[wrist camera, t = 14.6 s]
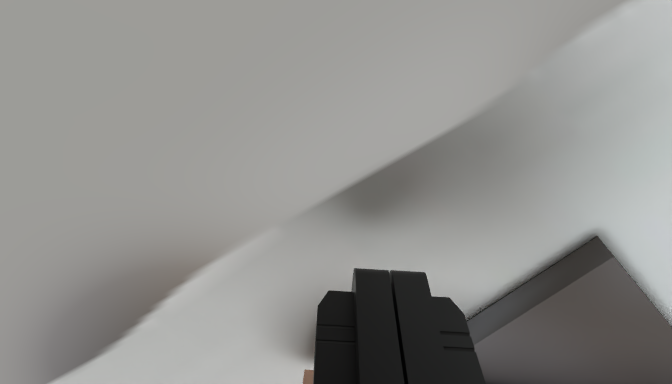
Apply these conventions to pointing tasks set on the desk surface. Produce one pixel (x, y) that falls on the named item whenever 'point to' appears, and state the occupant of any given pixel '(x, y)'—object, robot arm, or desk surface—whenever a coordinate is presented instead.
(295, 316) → the desk surface
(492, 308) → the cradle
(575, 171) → the desk surface
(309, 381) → the gate
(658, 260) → the desk surface
